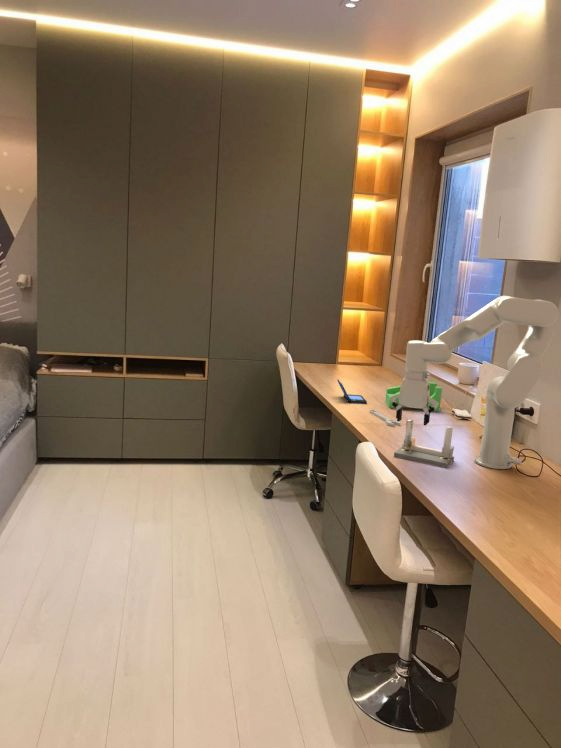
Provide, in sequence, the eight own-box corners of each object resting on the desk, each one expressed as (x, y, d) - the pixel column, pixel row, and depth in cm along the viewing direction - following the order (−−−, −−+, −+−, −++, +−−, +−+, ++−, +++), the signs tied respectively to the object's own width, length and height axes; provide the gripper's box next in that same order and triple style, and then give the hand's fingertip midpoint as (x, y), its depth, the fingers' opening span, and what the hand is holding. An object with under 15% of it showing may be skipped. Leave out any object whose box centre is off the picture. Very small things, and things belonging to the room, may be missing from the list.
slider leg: (414, 447, 230) (417, 418, 228) (409, 451, 224) (413, 421, 223) (406, 445, 231) (409, 416, 229) (401, 449, 226) (405, 419, 224)
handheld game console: (367, 404, 305) (368, 386, 303) (339, 403, 304) (341, 384, 303) (361, 397, 320) (363, 379, 319) (335, 396, 320) (336, 378, 318)
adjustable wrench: (368, 413, 289) (368, 409, 289) (381, 413, 291) (381, 409, 290) (388, 427, 265) (389, 423, 265) (403, 427, 267) (403, 423, 266)
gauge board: (453, 460, 224) (458, 425, 221) (447, 467, 215) (451, 431, 213) (402, 450, 232) (405, 416, 230) (393, 456, 224) (397, 421, 221)
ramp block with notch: (433, 406, 313) (436, 382, 311) (439, 412, 300) (442, 388, 298) (385, 402, 313) (387, 379, 311) (388, 408, 300) (391, 384, 298)
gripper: (442, 376, 221) (439, 424, 224) (395, 371, 229) (392, 417, 232) (437, 379, 214) (433, 428, 217) (388, 374, 222) (385, 421, 225)
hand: (412, 422), depth 224 cm, fingers open, 9 cm apart
